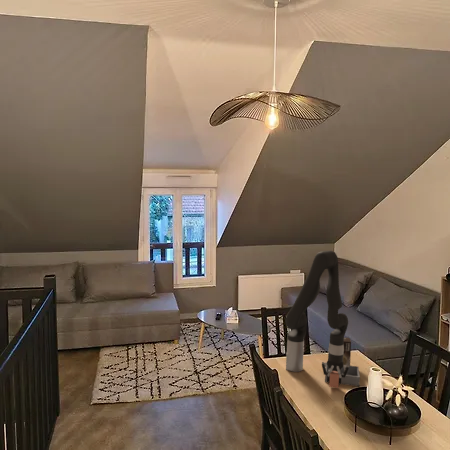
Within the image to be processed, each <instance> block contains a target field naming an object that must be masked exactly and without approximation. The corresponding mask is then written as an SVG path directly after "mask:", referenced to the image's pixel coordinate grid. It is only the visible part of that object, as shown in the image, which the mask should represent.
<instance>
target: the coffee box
mask: <svg viewBox="0 0 450 450" xmlns="http://www.w3.org/2000/svg"><path fill="white" fill-rule="evenodd" d="M351 353H352V340H351V339H350V337H344V353H343V364H344V365H349V366H351V357H352V356H351Z"/></svg>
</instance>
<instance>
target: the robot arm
mask: <svg viewBox="0 0 450 450" xmlns="http://www.w3.org/2000/svg"><path fill="white" fill-rule="evenodd" d="M325 270H327V274H328V281H327V285H326V291H325V294H326V302H327V316H326V317H327V319H326V320H327V323H328V326H329V327H330V328H331V329H333V330H332V331H331V332H330V334H329V345H328V349H327V350H328V353H327V355H328V356H327V361H326V362H324V361H322V362H321V368H322V371H323V375H324V376H325V375H327V382H326V383H327V384H329V382H330V373H331V372H332V371H336V372H338V374H339V384H338V386H339V385H342V384H341V378H342V377H344V378H345V376H346V374H347V371H348V369H349V367H348V365H344V364H343V353H344V338H345V335H346V332H347V329H348V325H349V319H348V316H347V315H346V313H343V312H339V310H340V309H341V308H343V302H342V297H341V296H342V295H341V292H340V291H341V290H340V282H339V281H340V277H339V276H340V275H339V257H338V255H337V253H336V252H335V251H334V250H324V251H319V252H317V253H316V255H315V256H314V258H313V260H312V264H311V267H310V269H309V272H308V273H307V275H306V278H305V280H304V282H303V284H302V287H301V288H300V290H299V292H298V295H297V297H296V299H295V300H294V303H293V305H292V307H290V309H289V311H288V312H287V314H286V315H285V319H284V321H285V326H286V328H288V329H290V331H289V332H288V334H287V340H286V341H287V343H286V355H285V356H286V358H285V359H286V361H285V362H286V363H285V371H288V372H289V371H290V372H293V373H294V372H295V373H299V372H301V371H303V369H304V348H305V337H306V334H307V326H308V324H307V323H308V321H307V319H308V318H307V316H306V313H305V311H306V310H307V309H308V308H309V307H310V306H312V304H313V303H314V302H315V300H316V299H317V297H318V295H319V293H320V290H321V282H320V281H321V276H322V275H323V273H324V272H325ZM326 365H328V367H329V370H328V372H326ZM343 367H344V372H343V374H341V371H340V370H341V369H342V368H343Z"/></svg>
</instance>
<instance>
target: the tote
mask: <svg viewBox="0 0 450 450" xmlns="http://www.w3.org/2000/svg"><path fill="white" fill-rule="evenodd" d="M348 367H349V369H348V371H347V374H346V376H345V378H344V377H342V378H341V384H340V385H345V386H354V387H360V380H361V376H360V368H359V366H357V365H356V366H355V365H350V366H349V365H348ZM325 368H326V372H328V370H329V367H328V365H326V367H325ZM340 371H341V374H343V372H344V367H343V368H342V369H341V370H340ZM324 383H328V382H327V375H324Z"/></svg>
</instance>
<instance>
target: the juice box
mask: <svg viewBox="0 0 450 450" xmlns="http://www.w3.org/2000/svg"><path fill="white" fill-rule="evenodd" d="M328 384H329V386H328V387H330V388H336V389H338V388H339V385H338V384H339V374H338V372H336V371H332V372H331V373H330V382H329V383H328Z"/></svg>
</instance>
